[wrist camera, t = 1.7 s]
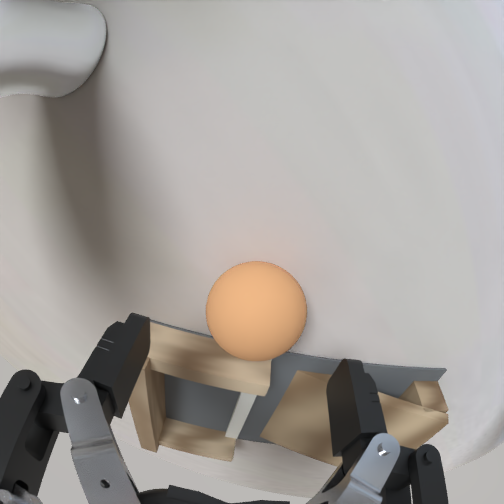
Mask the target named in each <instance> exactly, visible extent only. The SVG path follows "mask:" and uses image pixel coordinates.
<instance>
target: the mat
mask: <svg viewBox="0 0 504 504" xmlns="http://www.w3.org/2000/svg"><path fill="white" fill-rule="evenodd" d="M150 322H152V323H155V324H159V325H162V326H166V327H169V328H173V329H177V330H180V331H184V332H188V333H192V334H196V335H200V336H204V337H208V338H212V339H214V338H213V337H212V336H208V335H204V334H200V333H196V332H192V331H189V330H185V329H181V328H177V327H174V326H170V325H166V324H163V323H159V322H156V321H153V320H150ZM341 361H342V360H335V359H328V358H321V357H314V356H308V355H302V354H296V353H290V352H285V353H284V354H282V355H280V356H278V357H276V358H273V359H271V373H270V387H269V389H268V391H267V393H266V395H265V396H259V395H254V394H248V393H243V392H238V391H233V390H228V389H223V388H219V387H214V386H210V385H206V384H202V383H198V382H194V381H190V380H186V379H182V378H179V377H175V376H172V375H168V374H165V373H164V377H165V408H166V417H167V418H170V419H174V420H177V421H181V422H185V423H188V424H192V425H197V426H201V427H205V428H209V429H214V430H219V431H224V432H226V435H225V437H229V438H235V439H236V440H237V439H243V440H249V441H256V442H263V443H271V444H275V443H273V442H271V441H269V440H266V439H264V438H262V437H260V434H261V433H262V431H263V430H264V428H265V426H266V425H267V423H268V421H269V420H270V418H271V416H272V415H273V413H274V411H275V410H276V408H277V406H278V404H279V403H280V401H281V399H282V397H283V396H284V394H285V392H286V390H287V388H288V387H289V385H290V383H291V381H292V379H293V377H294V376H295V374H296V372H297V370H300V371H307V372H314V373H322V374H330V375H332V374H333V373H334V371H335V370H336V368H337V367H338V365H339V364H340V362H341ZM362 364H363V368H364V371H365V373H369V374H370V375H371V377H372V378H373V380H374V381H375V383H376V387H377V391H378V392H380V393H383V394H386V395H389V396H392V397H395V398H399V397H400V396H401V395H402V394H403V393H404V391H405V390H406V389H407V388H408V387H409V386H410V385H411V384H412V382H413V381H438V380H439V379H440V378H441V376H442V375H443V374H444V373H445V372H446V371H447V370H446V369H442V368H419V367H403V366H390V365H379V364H369V363H362ZM235 442H236V441H235Z"/></svg>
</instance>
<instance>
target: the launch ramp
mask: <svg viewBox="0 0 504 504" xmlns="http://www.w3.org/2000/svg"><path fill="white" fill-rule="evenodd" d="M331 376H332V375H330V374H322V373H314V372H307V371H300V370H297V372H296V374H295V376H294V377H293V379H292V381H291V383H290V385H289V387H288V388H287V390H286V392H285V394H284V396H283V397H282V399H281V401H280V403H279V404H278V406H277V408H276V410H275V411H274V413H273V415H272V416H271V418H270V420H269V421H268V423H267V425H266V426H265V428H264V430H263V431H262V433H261V434H260V437H262V438H264V439H266V440H269V441H271V442H273V443H275V444H278V445H280V446H283V447H285V448H288V449H290V450H293V451H295V452H298V453H300V454H303V455H306V456H308V457H311V458H314V459H317V460H320V461H322V462H325V463H328V464H331V465H335V466H339V465H340V463H341V462H342V457H333V454H332V443H331V432H330V422H329V413H328V403H327V395H326V388H327V383H328V381H329V379H330V377H331ZM378 395H379V399H380V403H381V407H382V411H383V415H384V419H385V424H386V428H387V432H388V434H390V435H392V436H393V437H394V438H396V440H397V441H398V443H399V445H400V446H404V447H408V448H412V449H417V448H419V447H420V446H421V445H422V444H424V443H425V442H426V441H428V440H429V439H430V438H431V437H433V436H434V435H435V434H436V433H437V432H439V431H440V430H441V429H442V428H443V427H445V426H446V425H447V424H448V414H446V412H447V411H448V407H447V404H446V402H445V399H444V396H443V394H442V391H441V389H440V386H439V384H438V381H413V382H412V384H411V385H410V386H409V387H408V388H407V389H406V390H405V391H404V393H403V394H402V395H401V396H400V397H399V398H395V397H392V396H389V395H386V394H383V393H380V392H378Z"/></svg>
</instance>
